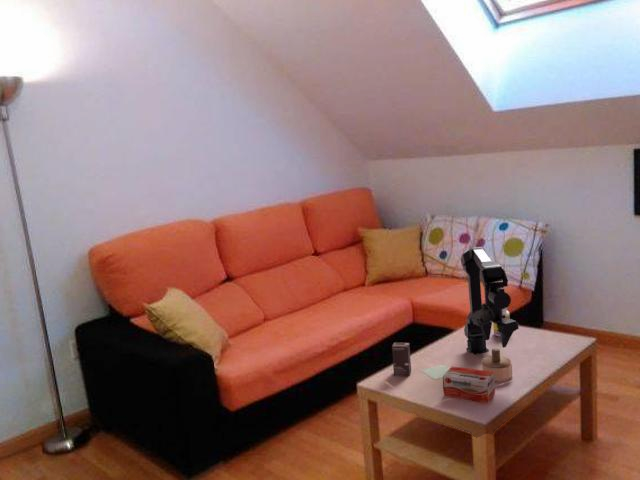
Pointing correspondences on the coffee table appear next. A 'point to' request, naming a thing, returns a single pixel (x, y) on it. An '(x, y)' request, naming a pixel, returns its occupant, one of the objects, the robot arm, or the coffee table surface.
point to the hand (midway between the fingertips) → (495, 343)
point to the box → (401, 359)
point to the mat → (436, 371)
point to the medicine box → (469, 384)
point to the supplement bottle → (502, 319)
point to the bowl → (500, 372)
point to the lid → (496, 360)
